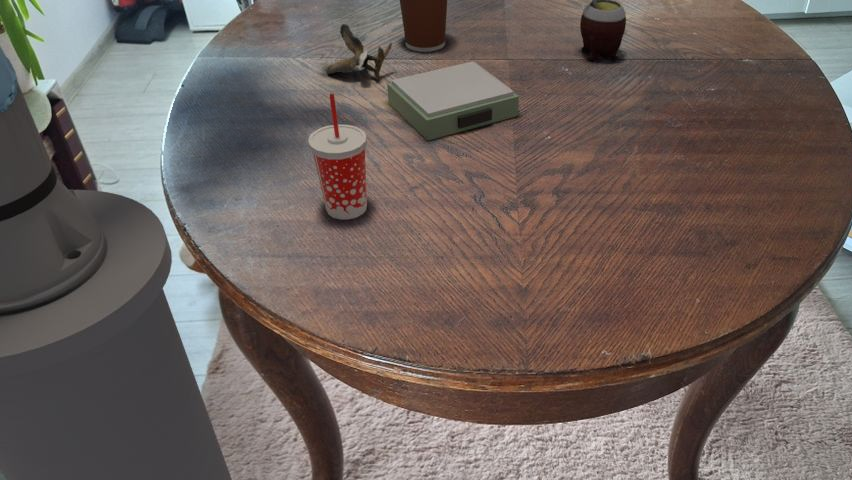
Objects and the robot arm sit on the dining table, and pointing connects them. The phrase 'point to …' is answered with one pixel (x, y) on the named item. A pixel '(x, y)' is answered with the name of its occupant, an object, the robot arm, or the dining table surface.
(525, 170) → the dining table surface
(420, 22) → the coffee cup
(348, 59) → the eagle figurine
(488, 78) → the scale
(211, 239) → the dining table surface
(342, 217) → the beverage cup
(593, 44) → the mate gourd
